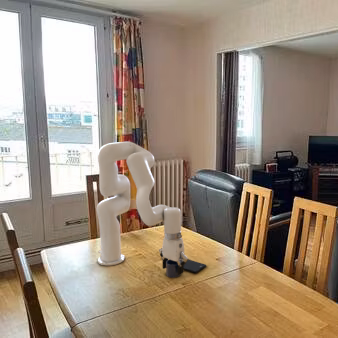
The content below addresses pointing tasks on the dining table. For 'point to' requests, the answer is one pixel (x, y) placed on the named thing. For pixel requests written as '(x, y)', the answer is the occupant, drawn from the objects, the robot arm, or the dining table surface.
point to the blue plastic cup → (172, 268)
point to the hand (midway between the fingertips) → (173, 270)
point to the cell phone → (193, 266)
